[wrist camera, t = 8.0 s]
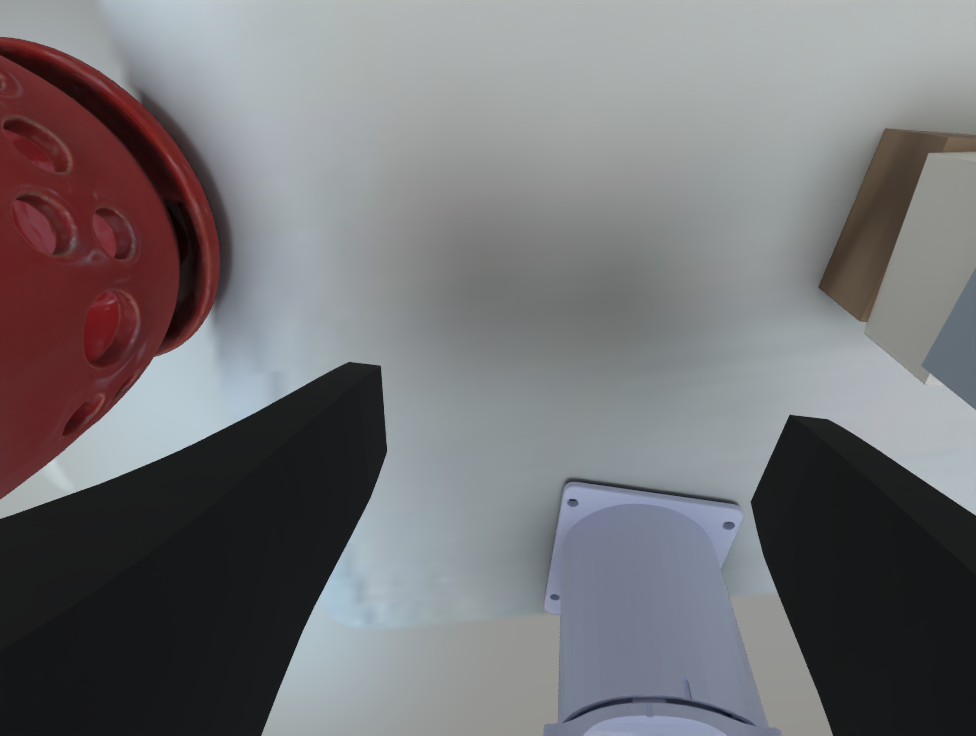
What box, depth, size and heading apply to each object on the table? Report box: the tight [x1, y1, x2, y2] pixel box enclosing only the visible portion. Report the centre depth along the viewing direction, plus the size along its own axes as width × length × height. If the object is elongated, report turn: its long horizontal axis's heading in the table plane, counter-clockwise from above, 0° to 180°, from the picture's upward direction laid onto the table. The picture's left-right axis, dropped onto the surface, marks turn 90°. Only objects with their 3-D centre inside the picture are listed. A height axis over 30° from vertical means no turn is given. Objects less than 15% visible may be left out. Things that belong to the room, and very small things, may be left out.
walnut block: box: [819, 129, 976, 322], centre depth 14 cm, size 5×5×3 cm
